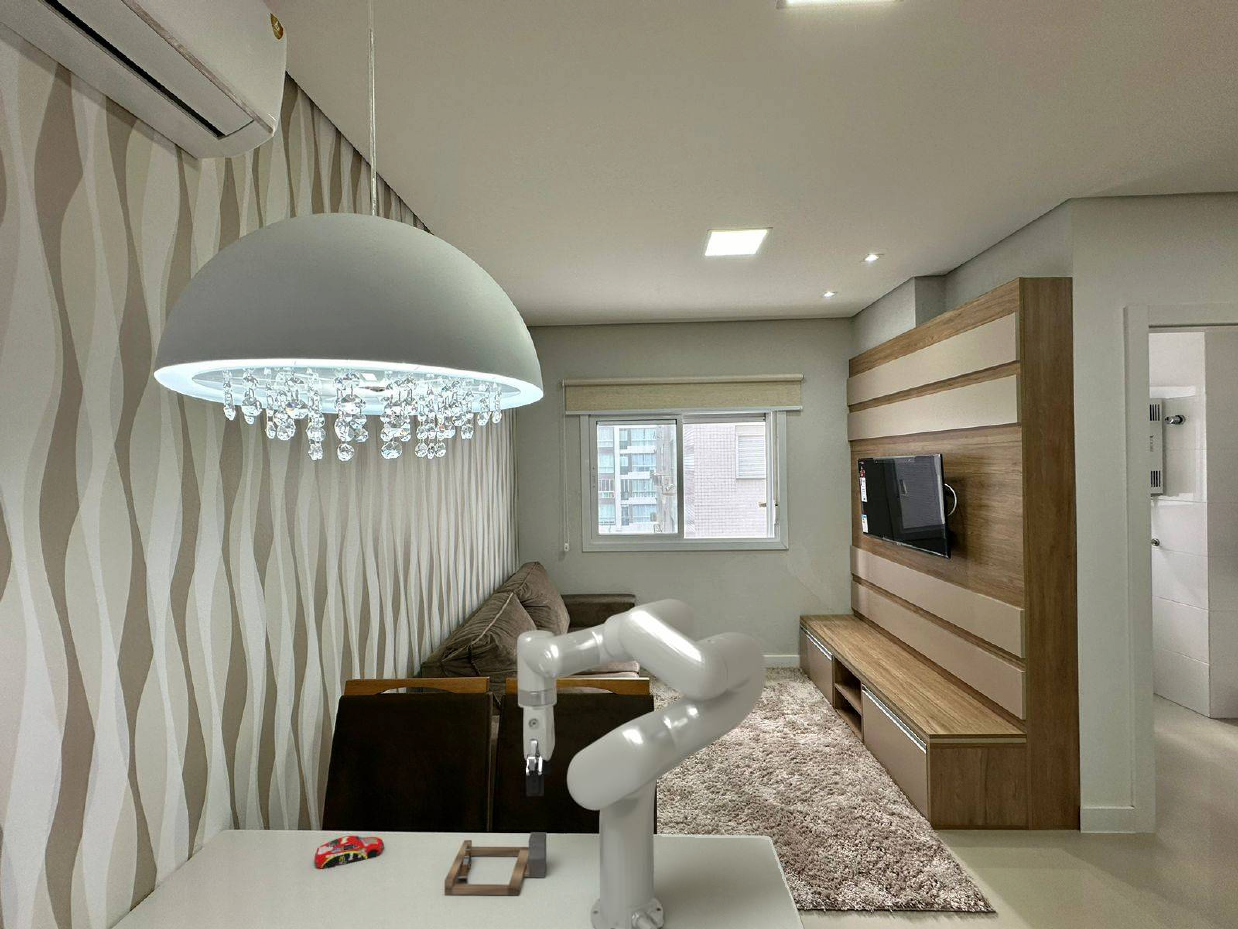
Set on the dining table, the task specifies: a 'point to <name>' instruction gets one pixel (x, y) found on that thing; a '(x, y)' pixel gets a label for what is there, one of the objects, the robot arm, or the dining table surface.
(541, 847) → the brown hollow square frame
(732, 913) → the dining table surface
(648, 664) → the robot arm
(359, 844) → the race car
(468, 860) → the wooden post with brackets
